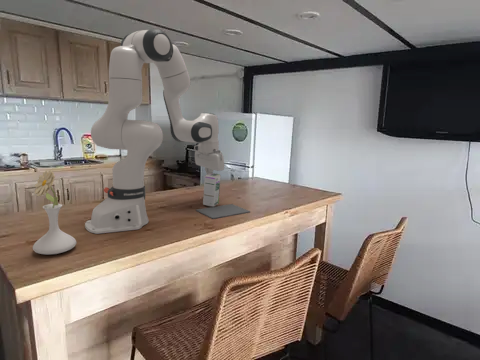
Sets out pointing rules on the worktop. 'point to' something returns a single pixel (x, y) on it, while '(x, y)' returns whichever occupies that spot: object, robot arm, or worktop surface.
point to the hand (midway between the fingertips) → (209, 177)
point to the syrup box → (211, 189)
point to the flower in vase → (51, 221)
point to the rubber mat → (222, 211)
